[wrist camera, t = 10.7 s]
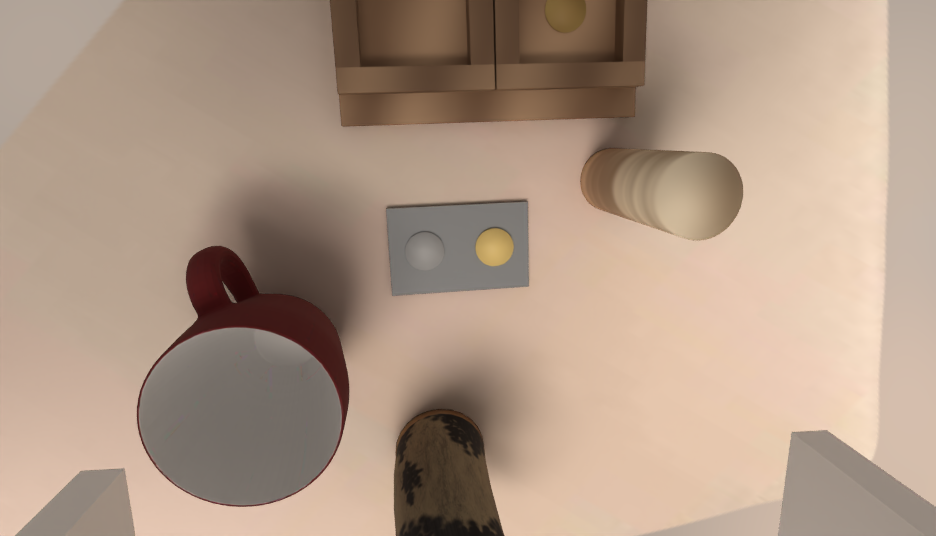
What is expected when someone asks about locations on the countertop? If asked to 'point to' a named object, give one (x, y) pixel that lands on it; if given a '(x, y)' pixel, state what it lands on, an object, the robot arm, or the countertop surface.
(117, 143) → the countertop surface
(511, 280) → the key tile
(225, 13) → the countertop surface
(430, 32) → the board
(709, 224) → the peg
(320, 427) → the mug
